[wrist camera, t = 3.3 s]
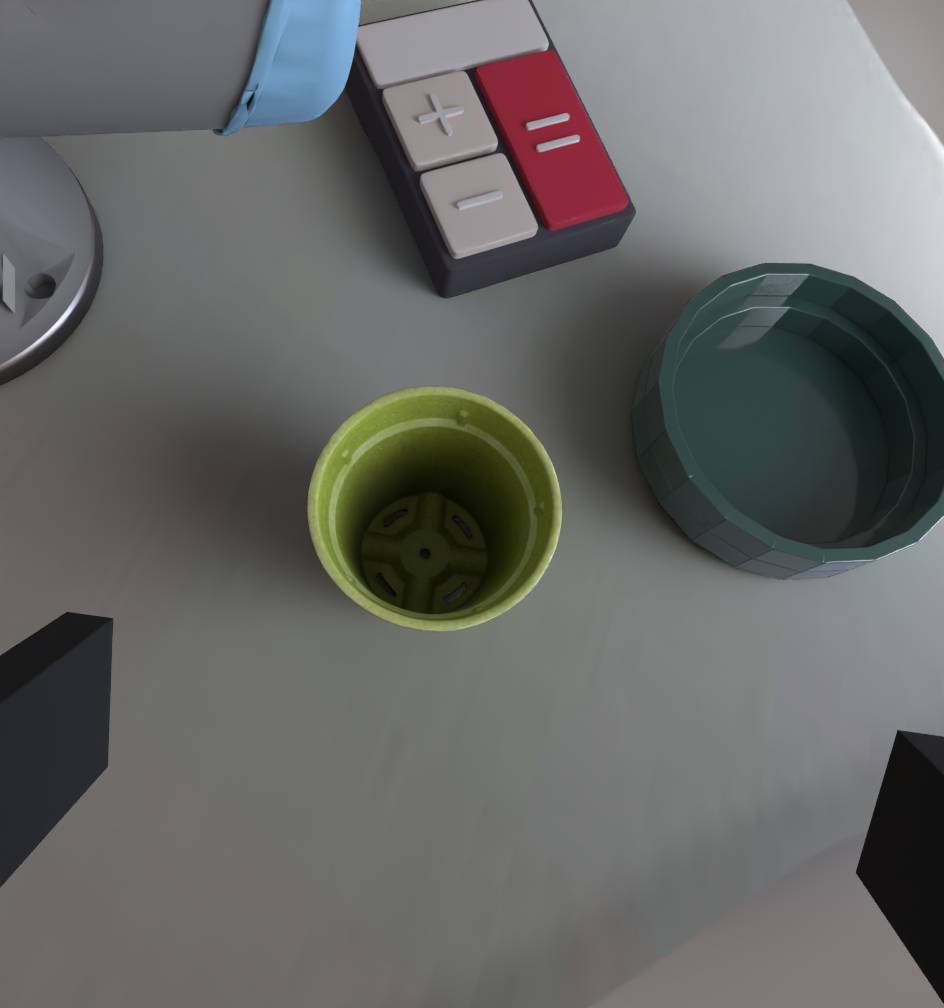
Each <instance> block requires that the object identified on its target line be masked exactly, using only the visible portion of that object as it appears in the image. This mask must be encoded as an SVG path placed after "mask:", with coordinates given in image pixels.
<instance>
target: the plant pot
mask: <svg viewBox="0 0 944 1008" xmlns="http://www.w3.org/2000/svg"><path fill="white" fill-rule="evenodd" d="M400 509H407V510H408V512H407V514H405V515H404V516H402V517H400V518H398V519H397V520H395V521H394V522H393V523H392V524H391V525H390V526H389V527H384V521H385V519H386V518H387V517H388V516H389V515H391V514H393V513H394V512H396V511H397V510H400ZM307 516H308V525H309V530H310V535H311V539H312V542H313V545H314V548H315V550H316V553H317V555H318V557H319V559H320V561H321V563H322V565H323V567H324V569H325V570H326V572H327V573H328V575H329V576H330V578H331V579H332V580H333V581H334V583H335V584H336V585H337V586H338V587H339V588H340V589H341V591H342V592H343V593H344V594H345V595H346V596H348V597H349V598H350V599H351V600H352V601H353V602H355V603H356V604H357V605H358V606H360V607H361V608H363V609H364V610H366V611H367V612H369V613H371V614H373V615H375V616H376V617H379V618H381V619H383V620H385V621H387V622H390V623H393V624H396V625H399V626H402V627H406V628H411V629H416V630H423V631H451V630H459V629H464V628H468V627H472V626H475V625H478V624H481V623H484V622H486V621H489V620H491V619H493V618H495V617H497V616H499V615H500V614H502V613H504V612H505V611H507V610H508V609H510V608H511V607H513V606H514V605H515V604H517V603H518V602H519V601H520V600H521V599H523V598H524V597H525V596H526V595H527V594H528V593H529V592H530V591H531V590H532V589H533V587H534V586H535V585H536V584H537V582H538V581H539V580H540V578H541V577H542V575H543V573H544V572H545V570H546V568H547V567H548V565H549V563H550V561H551V558H552V556H553V554H554V551H555V549H556V546H557V542H558V538H559V534H560V528H561V521H562V502H561V494H560V488H559V484H558V480H557V476H556V473H555V470H554V467H553V465H552V462H551V460H550V458H549V456H548V454H547V452H546V450H545V449H544V447H543V446H542V444H541V443H540V441H539V440H538V439H537V438H536V436H535V435H534V434H533V433H532V432H531V430H530V429H529V428H528V427H527V426H526V425H525V424H524V423H523V422H522V421H521V420H520V419H519V418H518V417H516V416H515V415H514V414H512V413H511V412H509V411H508V410H507V409H506V408H504V407H503V406H501V405H499V404H498V403H496V402H494V401H492V400H490V399H488V398H486V397H484V396H481V395H478V394H474V393H471V392H469V391H465V390H461V389H457V388H451V387H439V386H423V387H415V388H409V389H404V390H400V391H396V392H393V393H390V394H388V395H385V396H382V397H380V398H378V399H376V400H374V401H372V402H371V403H369V404H367V405H365V406H364V407H362V408H361V409H360V410H358V411H357V412H356V413H354V414H353V415H352V416H350V417H349V418H348V419H347V420H346V421H345V422H344V423H343V424H342V425H341V426H340V427H339V428H338V429H337V430H336V431H335V433H334V434H333V435H332V437H331V438H330V440H329V441H328V442H327V444H326V445H325V447H324V449H323V450H322V452H321V454H320V456H319V458H318V460H317V463H316V465H315V468H314V471H313V474H312V478H311V482H310V487H309V491H308V502H307ZM453 516H459V517H460V519H461V520H462V521H463V522H464V523H465V524H466V525H468V526H469V528H470V530H471V532H472V537H471V538H467V537H466V536H465V534H464V532H463V531H462V529H461V528H460V527H459V526H458V524H457V523H456V522H455V521H453V520H452V517H453ZM422 549H428V550H429V552H430V557H429V558H428V559H423V558H422V557H421V556H420V551H421V550H422ZM378 573H381V574H382V576H383V578H384V579H385V581H386V582H387V583H388V585H389V586H390V587H391V588H392V589H393V590H394V591H395V592H396V596H390V595H389V594H387V593H386V592H385V591H384V589H383V588H382V587H381V586H380V585H379V583H378V581H377V580H376V579H377V576H376V575H377V574H378ZM463 583H466V585H465V590H464V591H463V592H462V593H461V595H460V596H459V597H458V598H456V599H455V600H453V601H452V602H450V603H444V601H443V600H442V599H443V597H445V596H447V595H449V594H450V593H452V592H453V591H455V590H456V589H457V588H458V587H459V586H461V585H462V584H463Z"/></svg>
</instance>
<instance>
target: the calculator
mask: <svg viewBox="0 0 944 1008" xmlns="http://www.w3.org/2000/svg"><path fill="white" fill-rule="evenodd" d="M345 87H346V90H347V92H348V95H349V97H350V99H351V101H352V104H353V106H354V108H355V111H356V113H357V115H358V118H359V120H360V122H361V124H362V127H363V129H364V131H365V133H366V134H367V135H368V136H369V137H370V138H371V140H372V142H373V144H374V146H375V149H376V151H377V153H378V156H379V158H380V160H381V163H382V165H383V167H384V169H385V172H386V174H387V176H388V179H389V181H390V183H391V186H392V188H393V190H394V192H395V195H396V197H397V199H398V202H399V204H400V206H401V209H402V211H403V213H404V215H405V218H406V220H407V222H408V225H409V227H410V229H411V232H412V234H413V236H414V238H415V241H416V243H417V245H418V248H419V250H420V252H421V255H422V257H423V259H424V261H425V264H426V266H427V268H428V271H429V273H430V275H431V278H432V280H433V282H434V284H435V287H436V289H437V291H438V293H439V295H440V296H442V297H444V298H450V297H454V296H457V295H460V294H463V293H467V292H470V291H473V290H476V289H480V288H483V287H486V286H490V285H493V284H496V283H499V282H503V281H506V280H509V279H512V278H516V277H519V276H522V275H525V274H529V273H532V272H535V271H538V270H542V269H545V268H548V267H552V266H555V265H558V264H561V263H565V262H568V261H571V260H574V259H578V258H581V257H584V256H587V255H591V254H594V253H597V252H600V251H604V250H607V249H610V248H613V247H616V246H617V245H618V243H619V242H620V240H621V238H622V237H623V235H624V233H625V232H626V230H627V228H628V226H629V225H630V223H631V221H632V219H633V218H634V216H635V213H636V210H635V207H634V205H633V203H632V201H631V199H630V197H629V195H628V193H627V191H626V189H625V187H624V185H623V183H622V181H621V179H620V177H619V175H618V173H617V171H616V169H615V167H614V165H613V163H612V161H611V159H610V157H609V155H608V153H607V151H606V149H605V147H604V145H603V143H602V141H601V139H600V137H599V135H598V133H597V131H596V129H595V127H594V125H593V123H592V121H591V119H590V117H589V115H588V113H587V111H586V109H585V107H584V105H583V103H582V101H581V98H580V96H579V94H578V92H577V90H576V88H575V86H574V84H573V82H572V80H571V78H570V76H569V74H568V72H567V70H566V68H565V66H564V64H563V62H562V60H561V58H560V56H559V54H558V52H557V50H556V48H555V46H554V44H553V42H552V40H551V38H550V36H549V34H548V32H547V30H546V28H545V26H544V24H543V22H542V20H541V18H540V16H539V14H538V12H537V10H536V8H535V6H534V4H533V2H532V0H476V1H471V2H466V3H462V4H457V5H452V6H448V7H443V8H438V9H434V10H429V11H424V12H419V13H415V14H410V15H405V16H401V17H396V18H391V19H387V20H382V21H377V22H373V23H368V24H363V25H358V31H357V38H356V44H355V50H354V56H353V61H352V65H351V69H350V72H349V76H348V79H347V82H346V85H345Z"/></svg>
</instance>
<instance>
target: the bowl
mask: <svg viewBox="0 0 944 1008" xmlns="http://www.w3.org/2000/svg"><path fill="white" fill-rule="evenodd" d="M631 417H632V424H633V431H634V438H635V446H636V453H637V459H638V461H639V463H640V465H641V467H642V469H643V471H644V474H645V476H646V478H647V480H648V482H649V484H650V486H651V488H652V490H653V493H654V495H655V497H656V499H657V501H658V502H659V504H660V505H661V506H662V507H663V509H664V510H665V511H666V512H667V513H668V514H669V515H670V516H671V518H672V519H673V520H674V521H675V522H676V523H677V524H678V525H679V527H680V528H681V529H682V530H683V531H684V532H685V533H686V534H687V536H688V537H689V538H690V539H692V541H694V542H695V543H697V544H698V545H700V546H702V547H703V548H705V549H706V550H708V551H710V552H711V553H713V554H714V555H716V556H717V557H719V558H721V559H722V560H724V561H725V562H727V563H729V564H730V565H732V566H734V567H736V568H740V569H744V570H747V571H751V572H754V573H758V574H762V575H765V576H769V577H772V578H776V579H782V580H788V579H809V578H826V577H830V576H833V575H836V574H839V573H842V572H845V571H848V570H850V569H854V568H856V567H859V566H862V565H865V564H868V563H871V562H874V561H877V560H879V559H882V558H884V557H886V556H889V555H891V554H893V553H896V552H898V551H900V550H903V549H905V548H907V547H910V546H912V545H914V544H916V543H918V542H919V541H920V540H921V539H922V538H923V537H924V536H925V535H926V534H927V533H928V532H929V531H930V530H931V529H932V528H933V527H934V526H935V525H936V524H937V523H938V522H939V521H940V520H941V519H942V518H943V517H944V358H943V357H942V355H941V353H940V352H939V350H938V348H937V347H936V345H935V343H934V341H933V340H932V338H931V337H930V336H929V335H928V334H927V333H926V332H925V331H924V330H923V329H922V328H921V327H920V326H919V325H918V324H917V323H916V322H915V321H914V320H913V319H912V318H911V317H910V316H909V315H908V314H907V313H906V312H905V311H904V310H903V309H902V308H901V307H900V306H899V305H898V304H897V303H895V301H893V300H892V299H890V298H889V297H887V296H885V295H884V294H882V293H880V292H879V291H877V290H875V289H874V288H872V287H870V286H869V285H867V284H865V283H864V282H862V281H860V280H859V279H857V278H855V277H853V276H850V275H846V274H843V273H840V272H836V271H833V270H829V269H826V268H823V267H819V266H816V265H813V264H801V263H764V264H763V263H762V264H759V265H756V266H752V267H749V268H746V269H743V270H739V271H736V272H733V273H729V274H726V275H723V276H721V277H719V278H718V279H717V280H715V281H714V282H713V283H712V284H710V285H709V286H708V287H706V288H705V289H704V290H702V291H701V292H700V293H698V294H697V295H696V296H694V297H693V298H692V299H690V300H689V301H688V302H687V304H686V305H685V306H684V308H683V309H682V311H681V312H680V313H679V315H678V316H677V317H676V319H675V320H674V322H673V323H672V324H671V326H670V327H669V328H668V330H667V331H666V332H665V334H664V335H663V337H662V338H661V339H660V341H659V342H658V344H657V346H656V347H655V349H654V350H653V352H652V354H651V355H650V357H649V358H648V360H647V362H646V363H645V365H644V367H643V368H642V370H641V372H640V374H639V378H638V383H637V388H636V394H635V399H634V404H633V409H632V415H631Z"/></svg>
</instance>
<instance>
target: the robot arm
mask: <svg viewBox="0 0 944 1008" xmlns="http://www.w3.org/2000/svg"><path fill="white" fill-rule="evenodd" d="M360 7H361V0H0V385H2V384H5V383H7V382H9V381H11V380H13V379H15V378H17V377H19V376H21V375H22V374H24V373H26V372H27V371H29V370H31V369H32V368H34V367H35V366H37V365H38V364H39V363H41V362H42V361H43V360H45V359H46V358H48V357H49V356H50V355H51V354H52V353H53V352H54V351H56V350H57V349H58V348H59V347H60V346H61V345H62V344H63V343H64V342H65V341H66V340H67V339H68V338H69V336H70V335H71V334H72V333H73V332H74V330H75V329H76V328H77V326H78V325H79V324H80V323H81V321H82V319H83V318H84V316H85V314H86V313H87V311H88V309H89V307H90V305H91V303H92V301H93V299H94V297H95V294H96V291H97V288H98V286H99V282H100V277H101V273H102V266H103V241H102V233H101V229H100V226H99V222H98V219H97V216H96V214H95V211H94V209H93V207H92V205H91V203H90V201H89V199H88V198H87V196H86V194H85V192H84V190H83V188H82V186H81V185H80V183H79V181H78V179H77V178H76V176H75V175H74V173H73V172H72V171H71V169H70V168H69V167H68V166H67V165H66V163H65V162H64V161H63V160H62V159H61V158H60V156H59V155H58V154H57V153H56V152H55V151H54V150H53V149H52V148H51V147H50V146H49V145H48V144H47V143H46V142H45V141H44V140H43V139H42V138H40V137H39V136H59V135H84V134H108V133H133V132H158V131H182V130H207V129H212V130H213V132H214V133H215V134H217V135H222V136H227V135H230V134H232V133H235V132H237V131H239V130H240V129H241V128H246V127H257V126H268V125H280V124H291V123H301V122H307V121H310V120H313V119H316V118H318V117H319V116H321V115H322V114H323V113H324V112H325V111H326V110H327V109H328V108H329V107H330V106H331V105H332V104H333V103H334V102H335V101H336V100H337V99H338V97H339V95H340V94H341V93H342V92H343V89H344V87H345V85H346V82H347V79H348V76H349V72H350V69H351V65H352V61H353V56H354V50H355V44H356V38H357V31H358V24H359V15H360ZM112 635H113V618H106V617H99V616H92V615H85V614H78V613H71V612H66V613H65V614H63V615H62V616H60V617H59V618H57V619H55V620H54V621H52V622H51V623H49V624H48V625H46V626H45V627H43V628H42V629H40V630H39V631H37V632H36V633H34V634H33V635H31V636H30V637H28V638H26V639H25V640H23V641H22V642H20V643H19V644H17V645H16V646H14V647H13V648H11V649H10V650H8V651H7V652H5V653H4V654H2V655H1V656H0V887H1V886H2V885H3V884H4V883H5V882H6V880H7V879H8V878H9V877H10V876H11V875H12V874H13V873H14V871H15V870H16V869H17V868H18V867H19V866H20V865H21V864H22V862H23V861H24V860H25V859H26V858H27V857H28V856H29V855H30V853H31V852H32V851H33V850H34V849H35V848H36V847H37V846H38V844H39V843H40V842H41V841H42V840H43V839H44V838H45V837H46V835H47V834H48V833H49V832H50V831H51V830H52V829H53V828H54V826H55V825H56V824H57V823H58V822H59V821H60V820H61V819H62V817H63V816H64V815H65V814H66V813H67V812H68V811H69V810H70V808H71V807H72V806H73V805H74V804H75V803H76V802H77V801H78V799H79V798H80V797H81V796H82V795H83V794H84V793H85V792H86V790H87V789H88V788H89V787H90V786H91V785H92V784H93V783H94V781H95V780H96V779H97V778H98V777H99V776H100V775H101V774H102V772H103V771H104V770H105V769H106V768H107V767H108V745H109V718H110V690H111V662H112ZM856 874H857V875H858V877H859V878H860V880H861V881H862V882H863V884H864V886H865V887H866V889H867V890H868V892H869V893H870V895H871V896H872V898H873V899H874V900H875V902H876V903H877V905H878V906H879V908H880V909H881V911H882V912H883V914H884V915H885V917H886V918H887V920H888V921H889V923H890V924H891V926H892V927H893V929H894V930H895V932H896V933H897V935H898V936H899V938H900V939H901V941H902V942H903V943H904V945H905V947H906V948H907V950H908V951H909V953H910V954H911V956H912V957H913V959H914V960H915V962H916V963H917V964H918V966H919V968H920V969H921V971H922V972H923V974H924V975H925V976H926V978H927V979H928V981H929V982H930V984H931V985H932V987H933V988H934V990H935V991H936V993H937V994H938V996H939V997H940V999H941V1000H942V1002H943V1003H944V737H942V736H935V735H928V734H921V733H914V732H907V731H900V730H898V731H897V734H896V737H895V741H894V744H893V748H892V751H891V754H890V758H889V761H888V765H887V768H886V771H885V775H884V778H883V782H882V785H881V788H880V792H879V795H878V799H877V802H876V805H875V809H874V812H873V816H872V819H871V822H870V826H869V829H868V833H867V836H866V839H865V843H864V847H863V850H862V853H861V857H860V860H859V863H858V867H857V870H856Z"/></svg>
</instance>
